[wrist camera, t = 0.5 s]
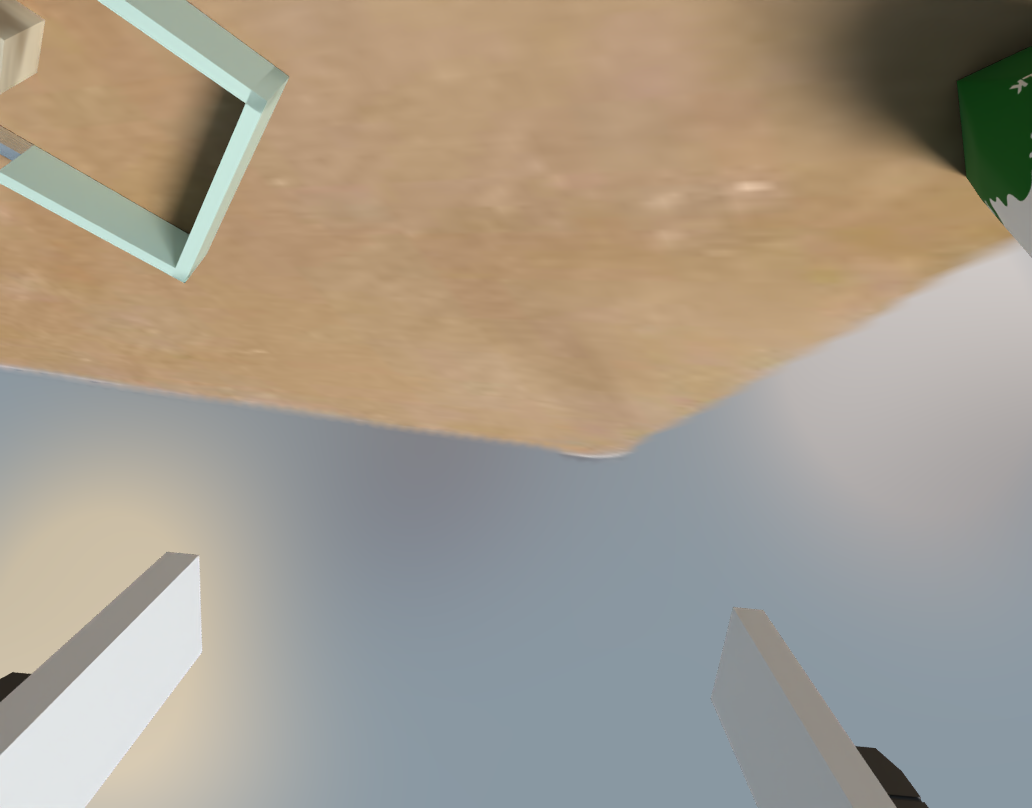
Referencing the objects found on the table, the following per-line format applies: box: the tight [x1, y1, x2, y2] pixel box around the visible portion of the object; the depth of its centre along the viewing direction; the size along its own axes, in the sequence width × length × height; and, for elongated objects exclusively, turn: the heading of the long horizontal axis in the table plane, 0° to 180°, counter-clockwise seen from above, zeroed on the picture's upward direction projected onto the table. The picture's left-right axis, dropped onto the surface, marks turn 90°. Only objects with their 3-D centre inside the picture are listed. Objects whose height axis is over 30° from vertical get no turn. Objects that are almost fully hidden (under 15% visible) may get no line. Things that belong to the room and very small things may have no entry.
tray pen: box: [0, 0, 289, 283], centre depth 40 cm, size 13×18×4 cm
